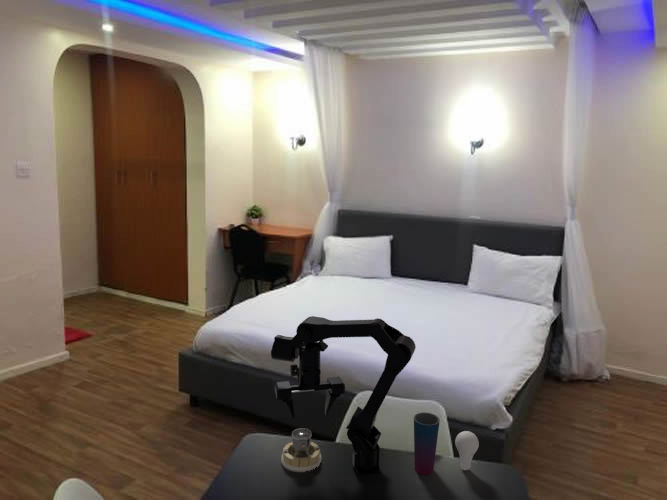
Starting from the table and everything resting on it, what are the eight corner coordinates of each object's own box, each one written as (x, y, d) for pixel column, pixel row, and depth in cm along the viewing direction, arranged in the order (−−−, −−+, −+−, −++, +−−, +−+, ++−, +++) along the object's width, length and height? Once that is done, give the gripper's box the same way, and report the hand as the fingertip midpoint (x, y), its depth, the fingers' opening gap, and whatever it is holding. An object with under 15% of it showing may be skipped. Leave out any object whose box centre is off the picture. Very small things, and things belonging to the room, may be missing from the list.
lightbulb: (477, 477, 147) (480, 439, 145) (453, 474, 148) (456, 437, 146) (476, 464, 153) (478, 428, 150) (453, 462, 154) (455, 425, 152)
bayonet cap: (313, 461, 151) (313, 438, 149) (293, 463, 150) (293, 440, 148) (309, 449, 157) (309, 426, 155) (290, 451, 156) (290, 428, 154)
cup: (416, 478, 146) (419, 426, 143) (407, 463, 153) (410, 413, 150) (440, 475, 148) (443, 423, 145) (431, 461, 154) (433, 411, 151)
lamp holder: (317, 447, 160) (317, 436, 159) (324, 470, 149) (324, 457, 149) (279, 451, 158) (279, 439, 157) (283, 474, 147) (283, 462, 146)
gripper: (336, 350, 160) (335, 400, 163) (271, 355, 156) (272, 406, 159) (346, 365, 150) (345, 418, 153) (276, 371, 145) (277, 425, 148)
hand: (309, 416), depth 153 cm, fingers open, 9 cm apart
